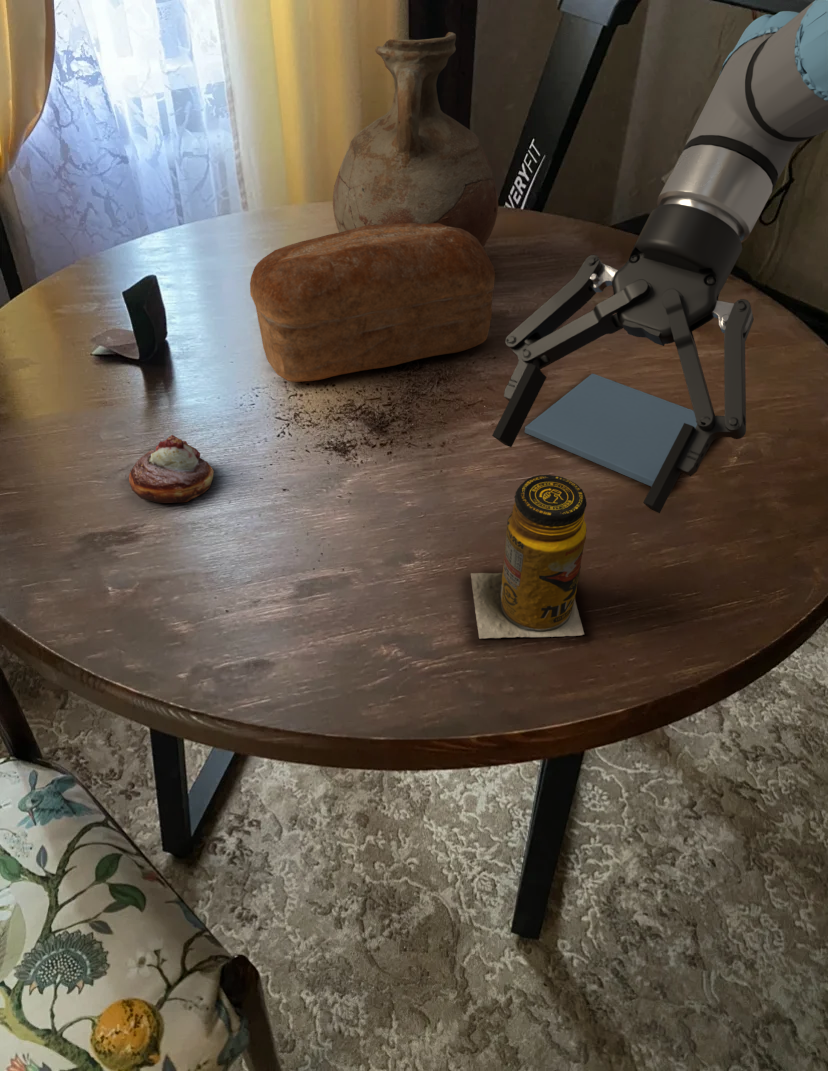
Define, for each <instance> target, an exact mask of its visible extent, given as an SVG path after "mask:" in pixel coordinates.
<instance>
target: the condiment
mask: <svg viewBox="0 0 828 1071" xmlns="http://www.w3.org/2000/svg"><path fill="white" fill-rule="evenodd" d="M587 504H588V502H587V498H586V494H585V492H584V490H583V489H582V488H581V487H580V486H579V485H578V484H577V483H576V482H574V481H572V480H570V479H569V478H565V477H563V476H559V475H551V474H539V475H534V476H531V477H529V478H526V480H524V481H523V482H522V483H521V484H520V485H519V487H517V489H516V491H515V494H514V503H513V506H512V511H511V513H510V514H509V515H508V518H507V523H506V532H505V533H506V534H505V541H504V542H505V544H504V554H503V555H504V556H503V564H502V572H498V573H497V572H495V573H494V572H493V573H492V572H473V573H472V572H471V573H470V580H471V587H472V596H473V603H474V604H473V605H474V612H475V619H476V626H477V633H478V638H479V639H501V638H550V637H551V638H553V637H557V638H559V637H576V636H578V637H579V636H583V635H585V632H584V627H583V624H582V620H581V617H580V613H579V610H578V605H577V602H576V594H577V588H578V582H579V576H580V573H581V572H580V571H581V567H582V559H583V554H584V550H585V544H586V540H587V523H586V521H585V515H586V514H585V511H586V507H587Z"/></svg>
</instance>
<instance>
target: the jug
mask: <svg viewBox="0 0 828 1071" xmlns="http://www.w3.org/2000/svg"><path fill="white" fill-rule="evenodd" d="M456 40H457V34H456V33H454V32H452V31H448V32H447V33H446V34H445V35H444V36H443V37H434V38H425V39H399V38H397V39H396V38H395V39H393V38H392V39H390V38H389V39H388V40H386V42H384V44H383V45H381V46H380V45H378V46H376V47H375V48H374V49H375V50H374V52H375V53H376V54H377V55H378V56H379V57H381V59H382V61H383V63H384V67H385V68H386V69H387V70H388V71H389V72H390V74H391V76H392V78H393V84H394V96H393V100H392V104H391V108H390V109H389V111H387V113H385V114H384V115H382V116H380V117H378V118H377V119H375V120H374V121H373V122H371V123H370V124H368V125H367V126H366V127H364V128H363V129H361V130H360V131H359V132H358V133H357V134H355V135H354V137H353V138H352V139H351V140H350V143H349V146H348V148H347V150H346V153H345V154H344V157H343V159H342V161H341V164H340V167H339V170H338V173H337V176H336V179H335V183H334V185H333V194H332V210H333V216H334V221H335V225H336V228H337V231H338V233H340V232H344V231H347V230H351V229H354V228H358V227H362V226H366V225H390V224H406V223H418V224H432V223H439V224H442V225H445V226H449V227H455V228H461V229H463V230H465V231H467V232H469V233H470V234H471V235H473V236H474V237H476V238H477V239H478V241H479V242H480V244H481V245H482V247H483V248H484V247H485V245H486V244H487V242H488V240H489V238H490V236H491V235H492V232H493V230H494V227H495V225H496V222H497V218H498V210H499V198H498V191H497V190H498V189H497V186H496V181H495V176H494V173H493V169H492V166H491V163H490V161H489V159H488V156H487V154H486V152H485V151H484V148H483V146H482V144H481V142H480V139H479V137H478V135H476V134H475V133H474V132H473V131H472V130H470V129H469V128H467V127H466V126H465V125H463V124H462V123H460V122H459V121H457V120H456V119H455V118H453V117H451V116H450V115H448V114H446V113H445V112H443V111H442V109H441V106H440V103H439V98H438V91H437V81H438V77H439V75H440V73H441V72H442V71H443V69H445V68H446V66H447V64H448V61H449V58H450V57H451V56H452V55H453V54H454V53H455V52H456V50H457V47H456Z"/></svg>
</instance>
